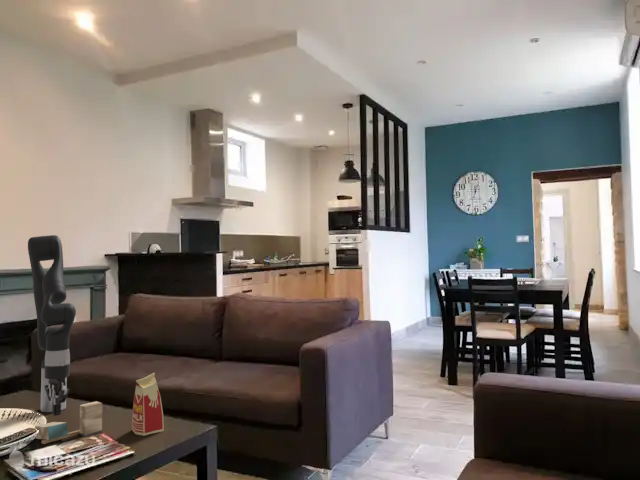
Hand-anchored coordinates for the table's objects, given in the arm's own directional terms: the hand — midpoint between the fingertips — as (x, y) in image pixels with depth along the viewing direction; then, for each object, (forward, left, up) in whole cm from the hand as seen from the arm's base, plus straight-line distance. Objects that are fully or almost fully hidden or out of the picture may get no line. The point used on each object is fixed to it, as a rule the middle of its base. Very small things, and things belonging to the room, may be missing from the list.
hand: (56, 415), depth 168 cm
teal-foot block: (+2, 0, -5) cm, 5 cm away
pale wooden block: (+2, +11, -8) cm, 14 cm away
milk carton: (+16, +24, -9) cm, 30 cm away
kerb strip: (-1, +6, -8) cm, 10 cm away
